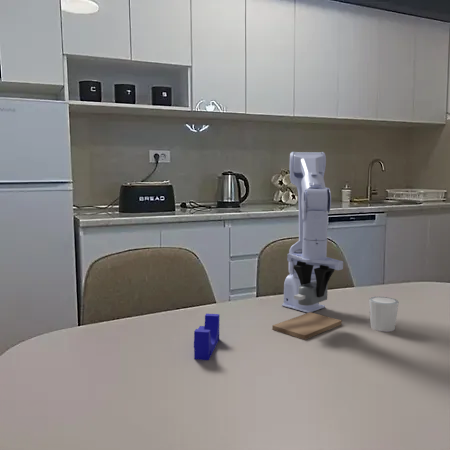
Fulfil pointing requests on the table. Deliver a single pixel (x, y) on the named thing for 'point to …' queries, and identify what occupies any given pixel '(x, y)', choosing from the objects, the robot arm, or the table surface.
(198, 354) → the cable clip
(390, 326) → the white cup
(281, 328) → the walnut board
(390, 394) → the table surface
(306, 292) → the connector plug
